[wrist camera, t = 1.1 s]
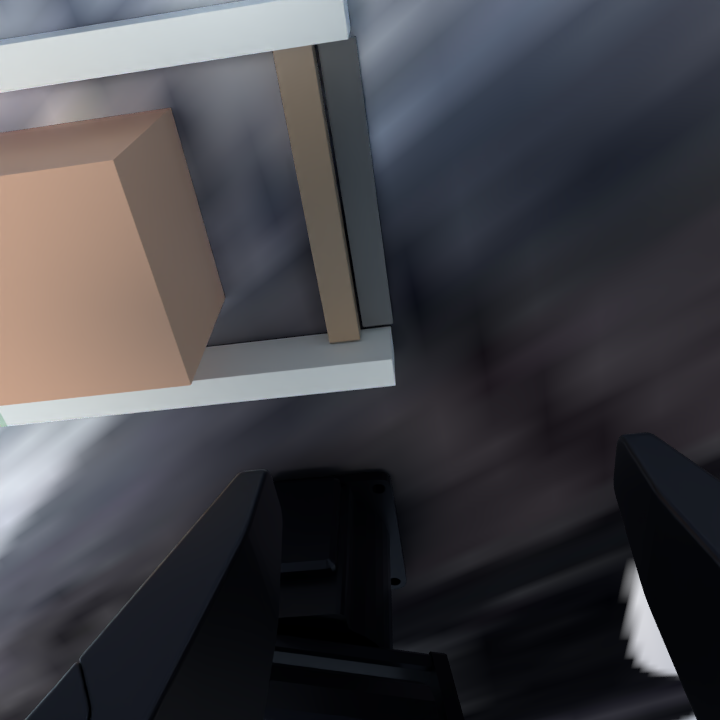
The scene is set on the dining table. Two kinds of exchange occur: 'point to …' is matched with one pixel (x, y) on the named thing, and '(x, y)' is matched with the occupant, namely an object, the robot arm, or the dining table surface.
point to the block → (101, 260)
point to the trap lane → (315, 179)
